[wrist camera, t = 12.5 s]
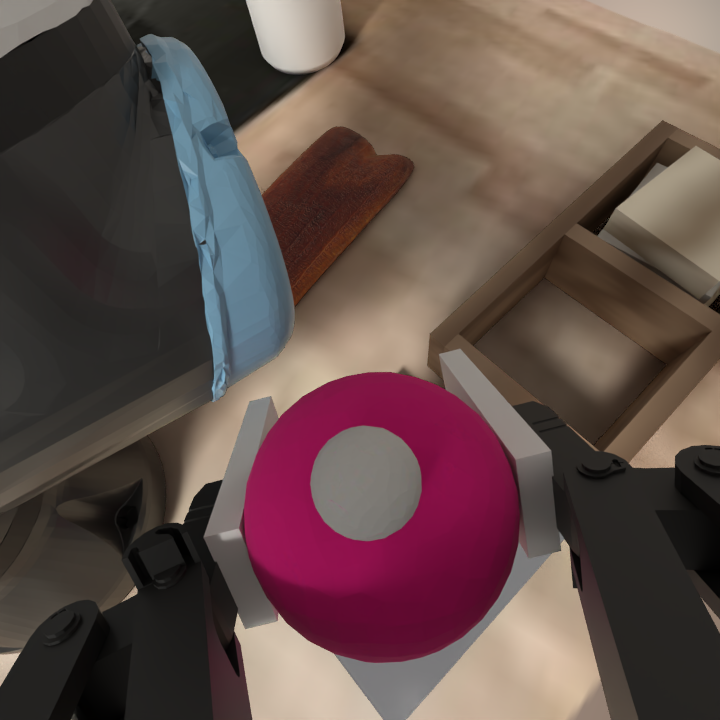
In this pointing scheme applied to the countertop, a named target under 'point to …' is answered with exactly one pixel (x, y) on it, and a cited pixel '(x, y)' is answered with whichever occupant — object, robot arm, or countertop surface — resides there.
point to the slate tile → (430, 656)
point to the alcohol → (298, 33)
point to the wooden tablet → (329, 201)
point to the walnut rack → (602, 297)
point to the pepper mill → (381, 517)
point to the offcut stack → (674, 224)
